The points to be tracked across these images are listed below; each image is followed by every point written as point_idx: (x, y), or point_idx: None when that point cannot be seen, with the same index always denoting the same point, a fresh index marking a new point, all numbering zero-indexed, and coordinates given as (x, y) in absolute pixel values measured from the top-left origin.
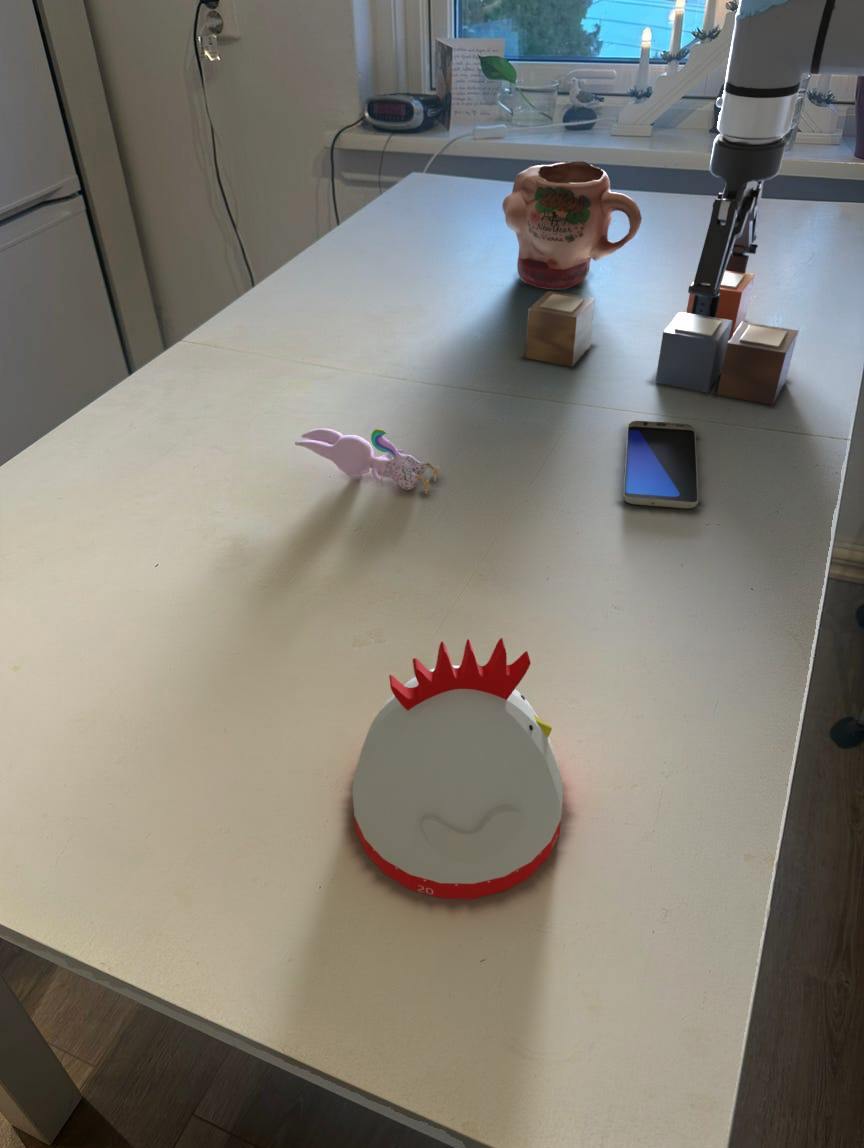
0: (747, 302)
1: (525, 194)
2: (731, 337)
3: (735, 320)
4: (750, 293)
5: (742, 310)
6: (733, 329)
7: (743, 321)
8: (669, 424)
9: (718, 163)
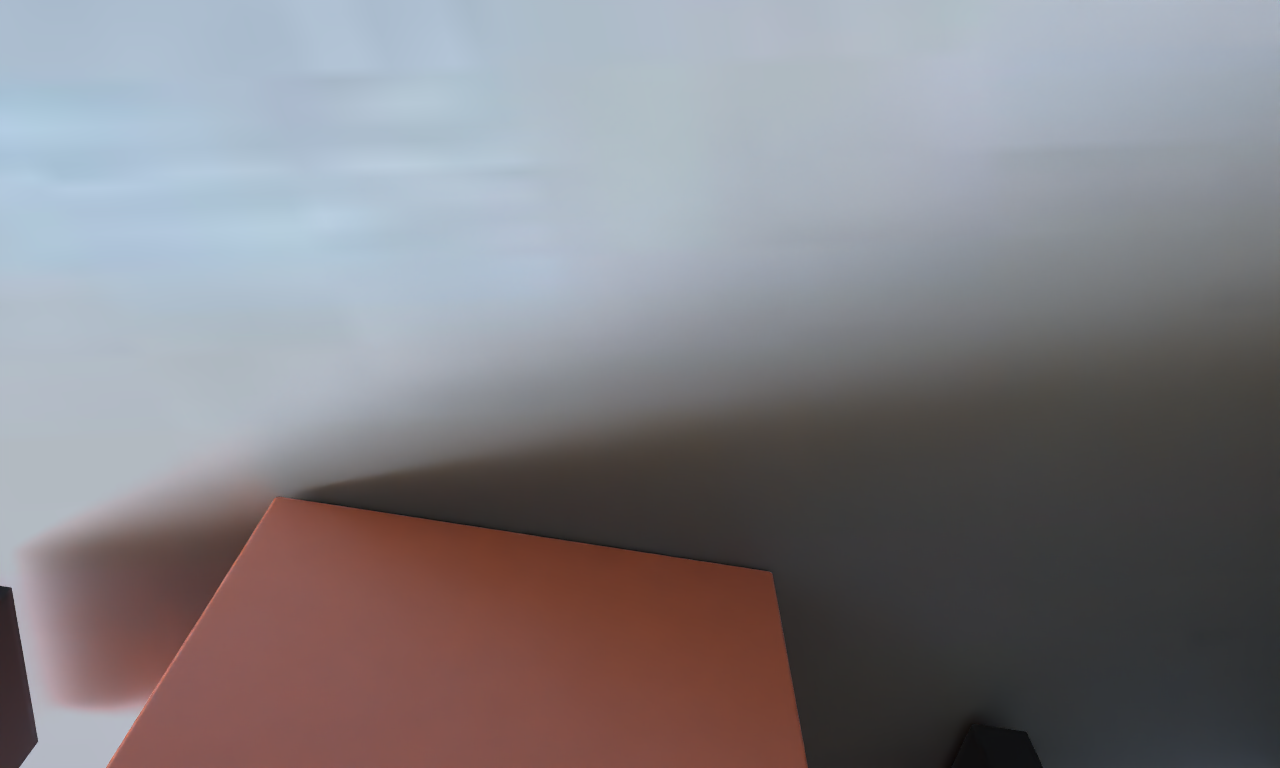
0: (255, 689)
1: None
2: (772, 602)
3: (804, 749)
4: (122, 756)
5: (506, 712)
6: (784, 664)
7: (328, 524)
8: None
9: None
